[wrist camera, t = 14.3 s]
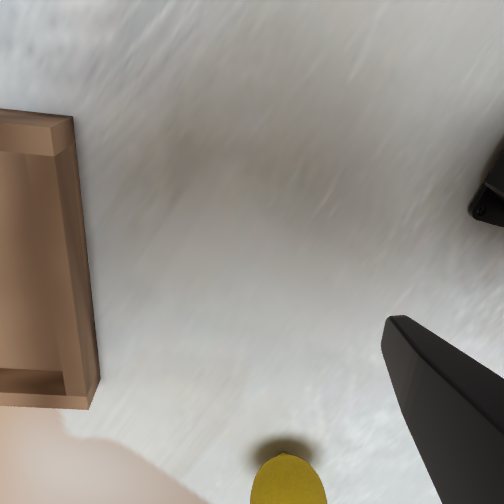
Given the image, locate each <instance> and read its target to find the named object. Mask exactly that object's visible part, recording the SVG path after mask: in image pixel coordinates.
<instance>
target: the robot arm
mask: <svg viewBox="0 0 504 504" xmlns="http://www.w3.org/2000/svg"><path fill="white" fill-rule="evenodd" d="M481 207H483V208H482V210H481V211H480V212H478V213H477V211H478V209H479V208H481ZM469 214H470V216H472V217H473V218H474V219H476V220H479V221H483V222H486V223H490V224H493V225H497V226H500V227H504V150H503V151H502V153H501V155H500V156H499V158H498V160H497V161H496V163H495V165H494V166H493V168H492V170H491V171H490V173H489V174H488V176H487V178H486V179H485V182H484V184H483V185H482V187H481V189H480V190H479V192H478V194H477V195H476V197H475V199H474V200H473V202H472V203H471V205H470V207H469ZM381 350H382V354H383V357H384V360H385V363H386V366H387V369H388V372H389V375H390V379H391V382H392V385H393V388H394V391H395V394H396V397H397V400H398V403H399V406H400V409H401V412H402V414H403V417H404V419H405V421H406V424H407V426H408V428H409V431H410V433H411V435H412V437H413V439H414V442H415V444H416V446H417V448H418V451H419V453H420V455H421V457H422V459H423V462H424V464H425V466H426V468H427V471H428V473H429V475H430V477H431V479H432V482H433V484H434V486H435V488H436V491H437V493H438V495H439V497H440V499H441V502H442V504H504V379H503V378H502V377H500V376H499V375H497V374H496V373H494V372H493V371H491V370H490V369H488V368H487V367H485V366H483V365H482V364H480V363H479V362H477V361H476V360H474V359H473V358H471V357H470V356H468V355H466V354H465V353H463V352H462V351H460V350H459V349H457V348H456V347H454V346H453V345H451V344H450V343H448V342H446V341H445V340H443V339H442V338H440V337H439V336H437V335H436V334H434V333H433V332H431V331H429V330H428V329H426V328H425V327H423V326H422V325H420V324H419V323H417V322H416V321H414V320H412V319H411V318H409V317H408V316H405V315H398V316H389V317H388V318H387V319H386V322H385V326H384V331H383V336H382V341H381Z"/></svg>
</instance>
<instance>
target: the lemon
mask: <svg viewBox="0 0 504 504" xmlns="http://www.w3.org/2000/svg"><path fill="white" fill-rule="evenodd" d="M250 504H327V499H326V495H325V491H324V487H323V485H322V482H321V480H320V478H319V476H318V474H317V473H316V472H315V470H314V469H313V468H312V467H311V465H310V464H308V463H307V462H306V461H304V460H303V459H301V458H299V457H296V456H293V455H288V454H287V453H285V452H283V453H280V454H279V455H278V456H276V457H274V458H272V459H270V460H268V461H267V462H266V463H265V464H264V465H263V466H262V467H261V468H260V470H259V471H258V472H257V474H256V476H255V479H254V482H253V486H252V490H251V497H250Z"/></svg>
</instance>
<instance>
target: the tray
mask: <svg viewBox="0 0 504 504" xmlns="http://www.w3.org/2000/svg"><path fill="white" fill-rule="evenodd" d="M99 382H100V369H99V360H98V351H97V341H96V332H95V323H94V313H93V304H92V295H91V285H90V276H89V267H88V257H87V248H86V239H85V229H84V220H83V210H82V201H81V192H80V182H79V173H78V164H77V154H76V145H75V136H74V126H73V117H72V116H64V115H55V114H46V113H36V112H27V111H18V110H8V109H0V406H18V407H38V408H39V407H40V408H59V409H81V410H89V407H90V405H91V402H92V400H93V397H94V394H95V392H96V389H97V387H98V384H99Z"/></svg>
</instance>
